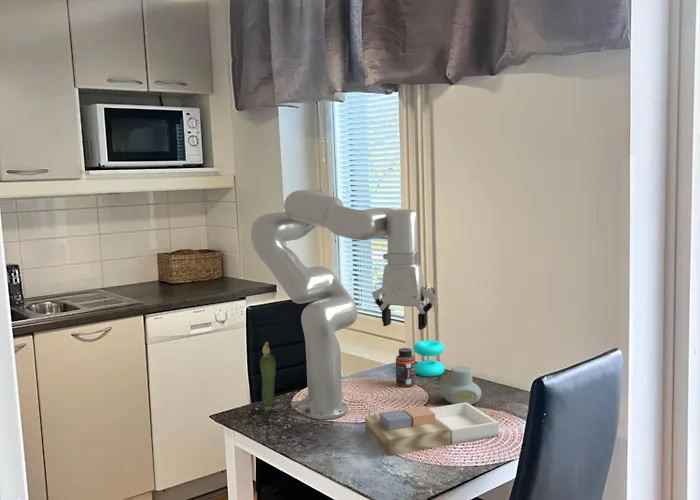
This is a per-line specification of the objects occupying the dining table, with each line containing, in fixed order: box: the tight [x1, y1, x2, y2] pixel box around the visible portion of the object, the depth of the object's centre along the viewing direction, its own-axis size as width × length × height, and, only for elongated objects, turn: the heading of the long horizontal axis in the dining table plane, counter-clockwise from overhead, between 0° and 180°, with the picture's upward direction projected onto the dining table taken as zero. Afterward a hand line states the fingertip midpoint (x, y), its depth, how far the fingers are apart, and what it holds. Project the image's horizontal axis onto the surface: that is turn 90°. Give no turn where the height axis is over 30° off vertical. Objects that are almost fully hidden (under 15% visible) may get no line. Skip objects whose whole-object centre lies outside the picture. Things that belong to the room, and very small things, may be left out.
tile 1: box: [378, 409, 412, 431], centre depth 172 cm, size 6×6×2 cm
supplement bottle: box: [395, 347, 416, 388], centre depth 214 cm, size 6×6×11 cm
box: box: [427, 402, 500, 445], centre depth 179 cm, size 13×16×4 cm
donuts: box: [413, 339, 446, 378], centre depth 226 cm, size 10×10×10 cm
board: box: [364, 414, 451, 456], centre depth 174 cm, size 16×16×4 cm
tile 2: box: [402, 405, 435, 426], centre depth 174 cm, size 6×6×2 cm
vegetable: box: [259, 341, 277, 412], centre depth 195 cm, size 4×4×20 cm
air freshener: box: [442, 365, 482, 405], centre depth 198 cm, size 11×8×10 cm
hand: (404, 326), depth 174 cm, fingers open, 9 cm apart
